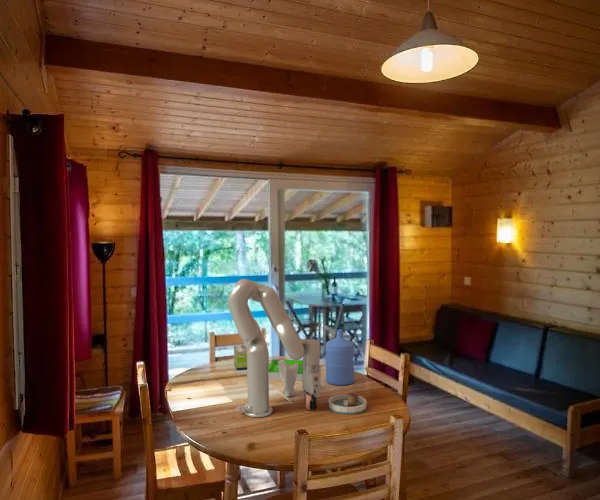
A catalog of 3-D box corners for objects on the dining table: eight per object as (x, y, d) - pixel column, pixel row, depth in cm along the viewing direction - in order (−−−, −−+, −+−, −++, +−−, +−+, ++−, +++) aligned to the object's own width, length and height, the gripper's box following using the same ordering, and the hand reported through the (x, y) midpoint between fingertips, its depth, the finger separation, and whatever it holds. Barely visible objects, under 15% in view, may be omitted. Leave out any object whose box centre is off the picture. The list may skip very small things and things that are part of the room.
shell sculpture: (300, 395, 224) (300, 359, 224) (288, 399, 218) (288, 362, 218) (288, 391, 230) (288, 356, 230) (276, 395, 224) (276, 359, 224)
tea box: (233, 369, 269) (233, 344, 269) (250, 368, 272) (250, 343, 271) (236, 377, 255) (236, 351, 254) (254, 375, 257) (253, 349, 257)
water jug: (342, 388, 235) (342, 334, 234) (319, 381, 245) (319, 330, 244) (360, 380, 246) (360, 329, 245) (337, 375, 257) (337, 326, 256)
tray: (273, 367, 274) (273, 359, 274) (314, 369, 271) (314, 360, 271) (264, 380, 249) (264, 371, 249) (310, 382, 246) (309, 373, 246)
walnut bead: (351, 410, 201) (351, 397, 201) (346, 407, 205) (346, 394, 205) (359, 409, 203) (359, 395, 203) (354, 405, 207) (354, 392, 207)
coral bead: (308, 410, 203) (308, 397, 203) (304, 407, 207) (304, 393, 207) (317, 408, 205) (317, 395, 205) (312, 405, 209) (312, 392, 209)
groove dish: (341, 417, 197) (341, 410, 197) (321, 404, 212) (321, 397, 212) (373, 410, 204) (373, 403, 204) (352, 398, 220) (352, 392, 220)
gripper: (327, 371, 200) (326, 412, 200) (309, 361, 215) (309, 399, 215) (312, 373, 197) (311, 414, 197) (295, 363, 212) (295, 402, 212)
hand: (310, 406), depth 206 cm, fingers closed on coral bead, 4 cm apart
